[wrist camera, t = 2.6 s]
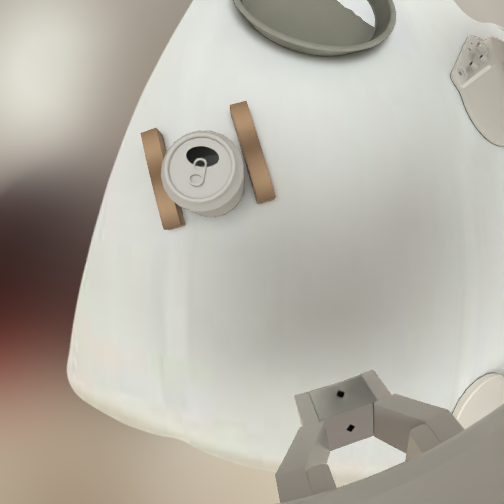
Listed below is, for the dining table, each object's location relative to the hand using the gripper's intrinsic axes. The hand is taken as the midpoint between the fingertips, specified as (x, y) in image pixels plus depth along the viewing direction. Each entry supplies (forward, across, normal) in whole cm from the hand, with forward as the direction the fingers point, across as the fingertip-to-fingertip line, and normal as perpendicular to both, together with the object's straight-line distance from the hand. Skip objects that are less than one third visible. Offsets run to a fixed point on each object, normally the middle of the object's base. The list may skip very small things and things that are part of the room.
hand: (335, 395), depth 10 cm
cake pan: (+35, -18, -32) cm, 51 cm away
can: (+30, +3, -7) cm, 31 cm away
